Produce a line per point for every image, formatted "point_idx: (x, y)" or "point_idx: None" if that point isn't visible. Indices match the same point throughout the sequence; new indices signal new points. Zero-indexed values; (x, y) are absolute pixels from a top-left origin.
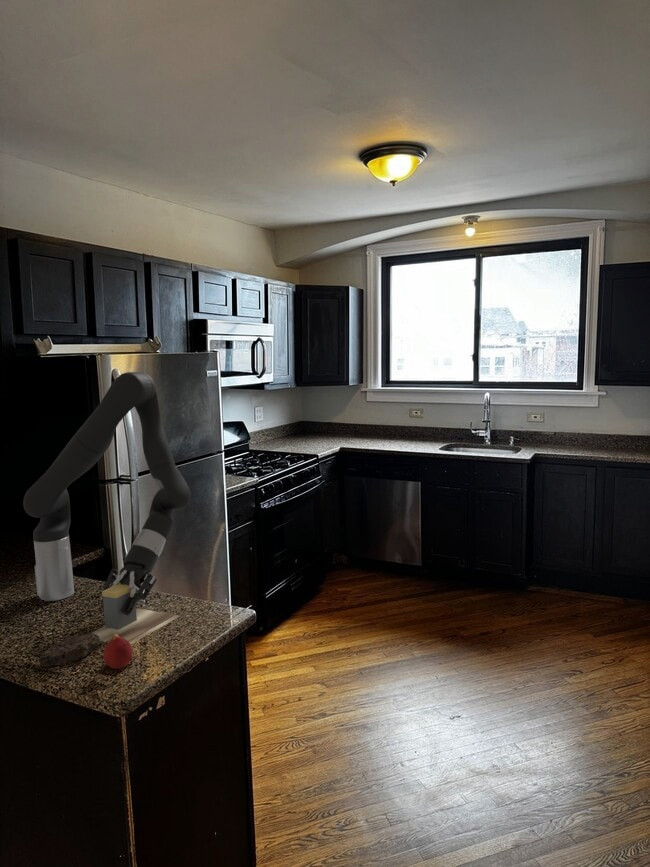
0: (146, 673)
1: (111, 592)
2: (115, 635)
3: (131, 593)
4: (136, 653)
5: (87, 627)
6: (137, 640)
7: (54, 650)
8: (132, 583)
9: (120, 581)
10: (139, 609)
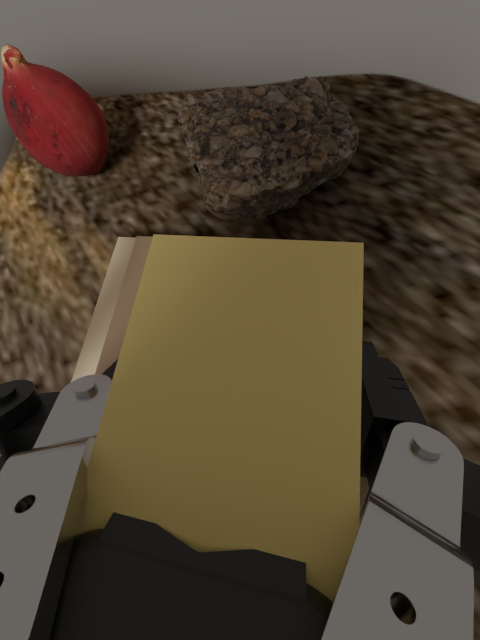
0: (29, 183)
1: (216, 246)
2: (3, 47)
3: (88, 400)
4: (96, 248)
5: (441, 370)
6: (104, 281)
7: (295, 93)
8: (12, 497)
9: (324, 615)
10: None
